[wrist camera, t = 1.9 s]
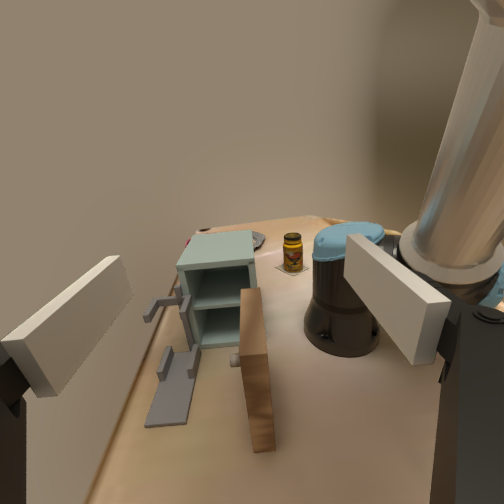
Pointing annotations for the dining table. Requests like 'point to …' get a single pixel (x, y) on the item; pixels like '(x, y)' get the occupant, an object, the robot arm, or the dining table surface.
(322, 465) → the dining table surface
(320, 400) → the dining table surface
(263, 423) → the door
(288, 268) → the condiment
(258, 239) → the food plate
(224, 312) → the cabinet
